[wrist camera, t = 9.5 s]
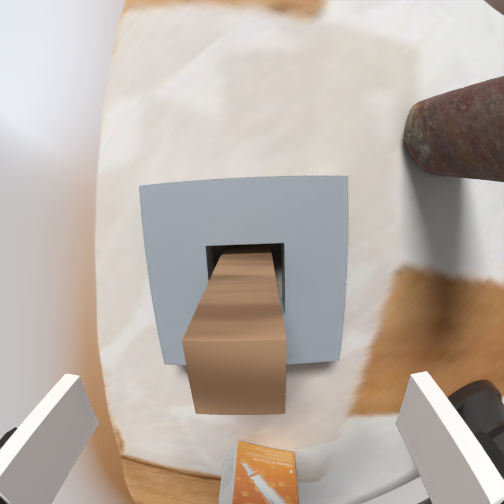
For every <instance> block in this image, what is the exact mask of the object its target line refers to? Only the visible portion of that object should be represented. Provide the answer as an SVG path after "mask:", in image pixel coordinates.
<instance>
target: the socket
mask: <svg viewBox="0 0 504 504" xmlns="http://www.w3.org/2000/svg"><path fill="white" fill-rule="evenodd" d="M139 190H140V204H141V215H142V226H143V236H144V245H145V253H146V261H147V268H148V276H149V282H150V289H151V295H152V302H153V308H154V313H155V319H156V324H157V330H158V335H159V340H160V345H161V350H162V355H163V359H164V364H168V365H186V362H185V356H184V350H183V344H182V340H183V337H184V335H185V333H186V331H187V328H188V326H189V324H190V322H191V319H192V317H193V315H194V313H195V310H196V308H197V306H198V304H199V302H200V299H201V297H202V295H203V293H204V291H205V289H206V286H207V284H208V282H209V280H210V278H211V275H212V273H213V271H214V256H213V246H215V245H240V244H267V243H281V264H282V299H280V305H281V310H282V316H283V322H284V328H285V334H286V364H301V363H315V362H327V361H337V360H339V359H340V350H341V340H342V330H343V319H344V306H345V292H346V275H347V251H348V176H275V177H247V178H228V179H211V180H197V181H185V182H173V183H162V184H152V185H143V186H139Z"/></svg>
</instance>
